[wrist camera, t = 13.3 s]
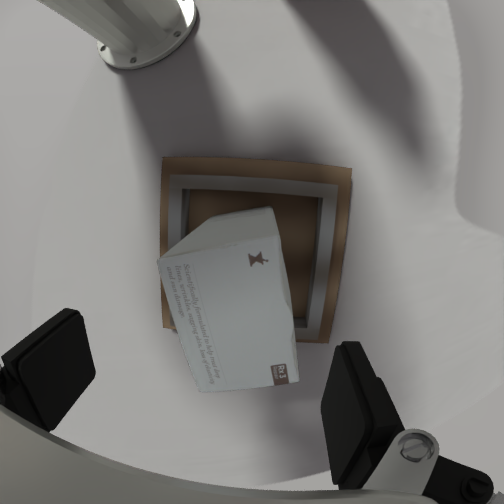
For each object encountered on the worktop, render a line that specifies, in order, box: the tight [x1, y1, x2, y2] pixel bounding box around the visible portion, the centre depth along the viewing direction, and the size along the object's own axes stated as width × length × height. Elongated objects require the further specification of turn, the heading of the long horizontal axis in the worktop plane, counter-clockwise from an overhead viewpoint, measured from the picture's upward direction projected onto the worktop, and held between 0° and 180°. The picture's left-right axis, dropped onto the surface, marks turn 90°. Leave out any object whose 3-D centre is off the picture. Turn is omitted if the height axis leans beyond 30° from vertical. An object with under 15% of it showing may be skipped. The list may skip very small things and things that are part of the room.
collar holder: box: [160, 157, 352, 343], centre depth 27 cm, size 18×18×4 cm
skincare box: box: [157, 206, 300, 392], centre depth 20 cm, size 8×6×15 cm
